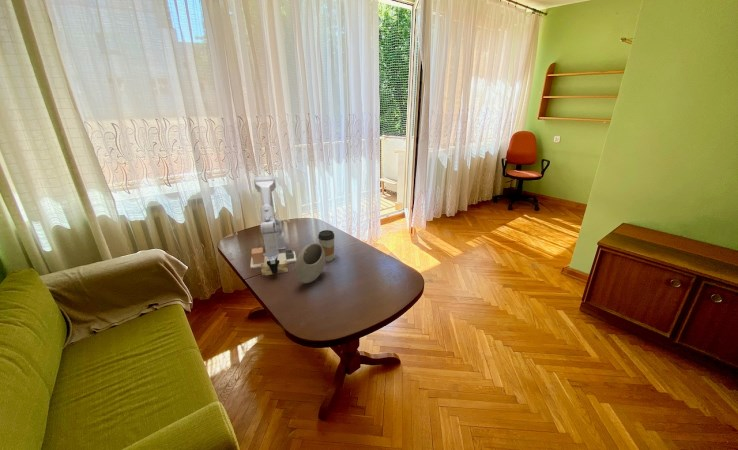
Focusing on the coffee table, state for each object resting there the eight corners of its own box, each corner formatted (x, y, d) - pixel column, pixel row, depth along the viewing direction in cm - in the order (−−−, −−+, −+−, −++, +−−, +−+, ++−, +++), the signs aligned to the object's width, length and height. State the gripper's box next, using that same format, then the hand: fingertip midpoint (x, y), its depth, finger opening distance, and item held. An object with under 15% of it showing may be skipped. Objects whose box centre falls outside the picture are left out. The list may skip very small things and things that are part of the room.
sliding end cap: (264, 257, 156) (262, 247, 153) (264, 262, 151) (262, 252, 148) (253, 259, 154) (252, 248, 152) (253, 264, 149) (251, 253, 147)
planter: (304, 293, 129) (300, 255, 122) (292, 288, 132) (287, 251, 125) (330, 273, 143) (328, 238, 136) (319, 269, 147) (317, 235, 139)
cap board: (294, 252, 162) (294, 246, 161) (296, 261, 154) (295, 255, 152) (251, 259, 156) (250, 252, 155) (250, 268, 147) (249, 262, 146)
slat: (287, 268, 148) (286, 260, 146) (288, 272, 145) (286, 263, 143) (262, 273, 144) (260, 264, 142) (262, 276, 142) (260, 267, 140)
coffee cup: (338, 256, 158) (337, 231, 152) (330, 264, 151) (328, 237, 146) (325, 253, 162) (323, 228, 156) (316, 260, 155) (314, 234, 149)
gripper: (262, 239, 144) (266, 263, 149) (261, 253, 131) (266, 279, 136) (277, 237, 146) (280, 261, 151) (278, 250, 133) (281, 276, 138)
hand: (274, 269), depth 144 cm, fingers open, 6 cm apart
